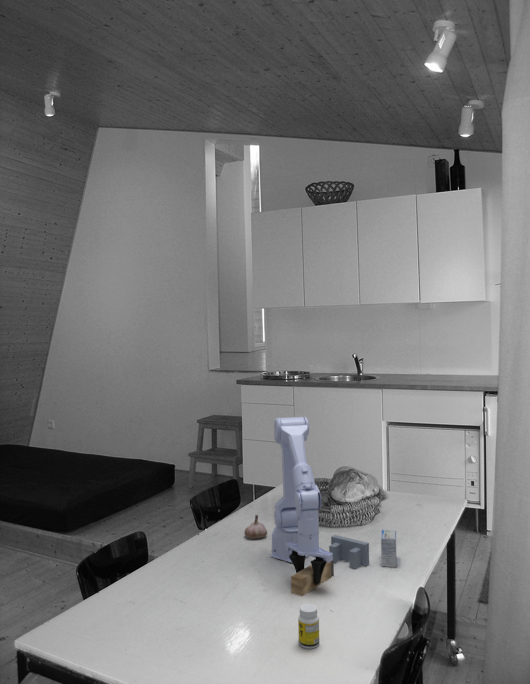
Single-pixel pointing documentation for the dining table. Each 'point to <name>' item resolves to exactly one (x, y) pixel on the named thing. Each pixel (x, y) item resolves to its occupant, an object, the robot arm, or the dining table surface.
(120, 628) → the dining table surface
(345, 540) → the grey stepped block
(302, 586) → the rail
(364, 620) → the dining table surface
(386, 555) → the medicine box
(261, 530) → the garlic bulb
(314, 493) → the robot arm
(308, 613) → the supplement bottle
